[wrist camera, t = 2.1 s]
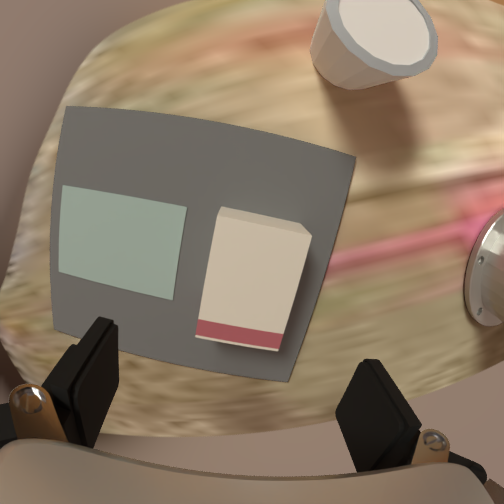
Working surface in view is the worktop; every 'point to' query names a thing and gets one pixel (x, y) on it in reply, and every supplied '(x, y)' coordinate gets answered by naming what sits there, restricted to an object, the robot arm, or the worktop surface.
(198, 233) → the mat
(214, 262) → the card box
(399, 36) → the white cup
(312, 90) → the worktop surface
